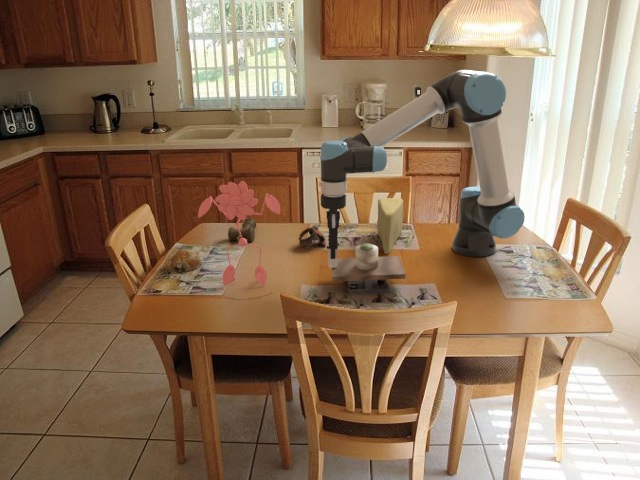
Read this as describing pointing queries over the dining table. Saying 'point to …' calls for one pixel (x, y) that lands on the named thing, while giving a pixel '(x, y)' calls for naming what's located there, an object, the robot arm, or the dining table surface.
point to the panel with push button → (368, 266)
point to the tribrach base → (368, 286)
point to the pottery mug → (311, 236)
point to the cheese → (389, 221)
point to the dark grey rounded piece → (243, 231)
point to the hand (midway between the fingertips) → (332, 266)
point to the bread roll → (185, 260)
